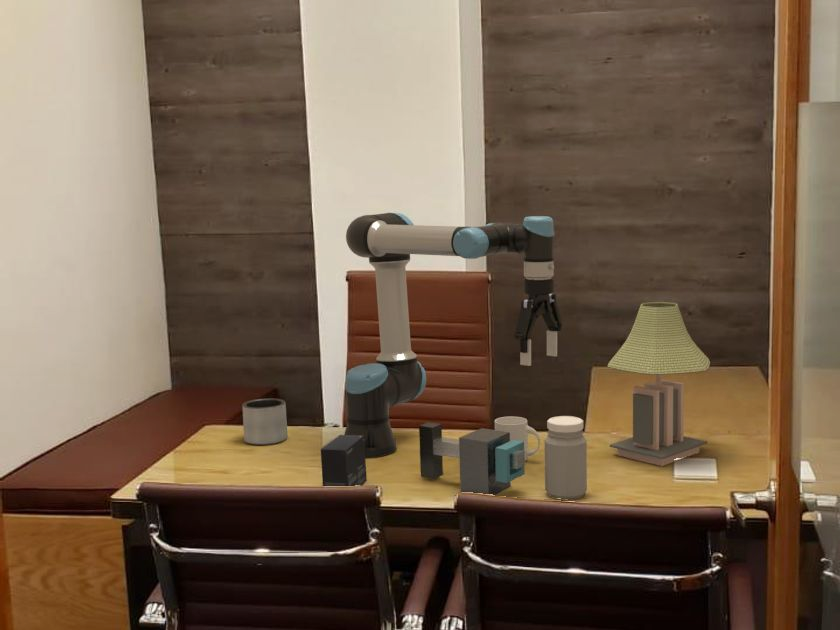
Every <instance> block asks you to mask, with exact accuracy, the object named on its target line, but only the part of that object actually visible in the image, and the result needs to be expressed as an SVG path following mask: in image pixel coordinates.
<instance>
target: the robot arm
mask: <svg viewBox="0 0 840 630" xmlns="http://www.w3.org/2000/svg"><path fill="white" fill-rule="evenodd" d="M554 240H555V230H554V219H553V218H552V217H550V216H546V215H545V216H544V215H539V216H537V215H534V216H533V215H531V216H525V217H524V219H523V222H522V223H502V222H494V223H487V224H485V225H483V226H454V225H453V226H451V225H450V226H449V225H421V224H420V225H416V224H415V225H414V223H413V221H412V220H411V219H410V218H409V217H408V216H407V215H405V214H403V213H399V212H384V213H378V214H377V213H375V214H365V215H361V216H358V217H357V218H355V219H353V220H352V221H351V222H350V224H349V225H348V226H347V229H346V234H345V241H346V244H347V247H348V248H349V250H350V251H351V253H353V254H355V255H356V256H357V257H361V258H364V259H365V258H368V263H369V264H370V265H371V266H372V267H373V268H374V272H375V285H376V298H377V301H376V302H377V314H378V325H379V328H378V329H379V340H380V341H379V342H380V353H379V354H378V355H377V357H376V358H375V360H376V361H375V363H373V362H372V363H371V362H370V363H366V364H359V365H357V366H354V367H351V368H350V369H349V370H348V371H347V372H346V374H345V383H344V384H345V385H344V389H345V404H346V405H345V407H346V427H345V430H344V431H345V432H344V434H343V435H360V436H364V443H365V459H367V458H380V457H384V456H388V455H391V454H394V453H395V452H396V451H397V440H396V438H395V436H394V433H393V430H392V427H391V424H390V423H391V422H390V409H389V408H392V407H395V406H398V405H402V404H407V403H410V402H412V401H413V400H415V399H417V398H419V397H420V396H421V394H422V393H423V392H424V390H425V387H426V384H427V373H426V370H425V368H424V367H423V366H422V364H421V362H420V361H418V355H417V354H416V353H415V352H414V351H412V345H411V343H412V341H411V331H410V316H409V301H408V288H407V287H408V284H407V271H406V267H407V265H408V263H409V262H410V261H411V255H422V256H423V255H424V256H443V257H444V256H445V257H460V258H463V259H468V260H472V259H473V260H474V259H478V258H481V257H487V256H495V255H502V254H519V255H520V254H522V255H523V276H524V279H523V293H525V294H526V295H528V299H521V302H520V303H521V304H520V311H519V314H518V320H517V324H516V327H515V331H514V339H516V340H519V354H520V358H519V359H520V360H519V361H520V363H519V365H520V366H526V367H527V366H528V367H530V366H532V339H530V338H531V334H532V332H533V329H534V327H535V324H536V321H537V319H538V318H539V317H540V316H541V317H542V318H543V321H544V323H545V325H546V327H547V330H546V356H547V357H558V332H561V331H562V327H563V323H562V319H561V318H562V317H561V315H560V310H559V307H558V303H557V294H555V293H554V291H555V279H554V278H553V277H554V276H555V274H554V269H555V265H554V263H555V262H554V260H555V259H554V258H555V257H554V252H555V251H554V250H555V249H554V248H555V247H554V246H555V243H554V242H555V241H554Z"/></svg>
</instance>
